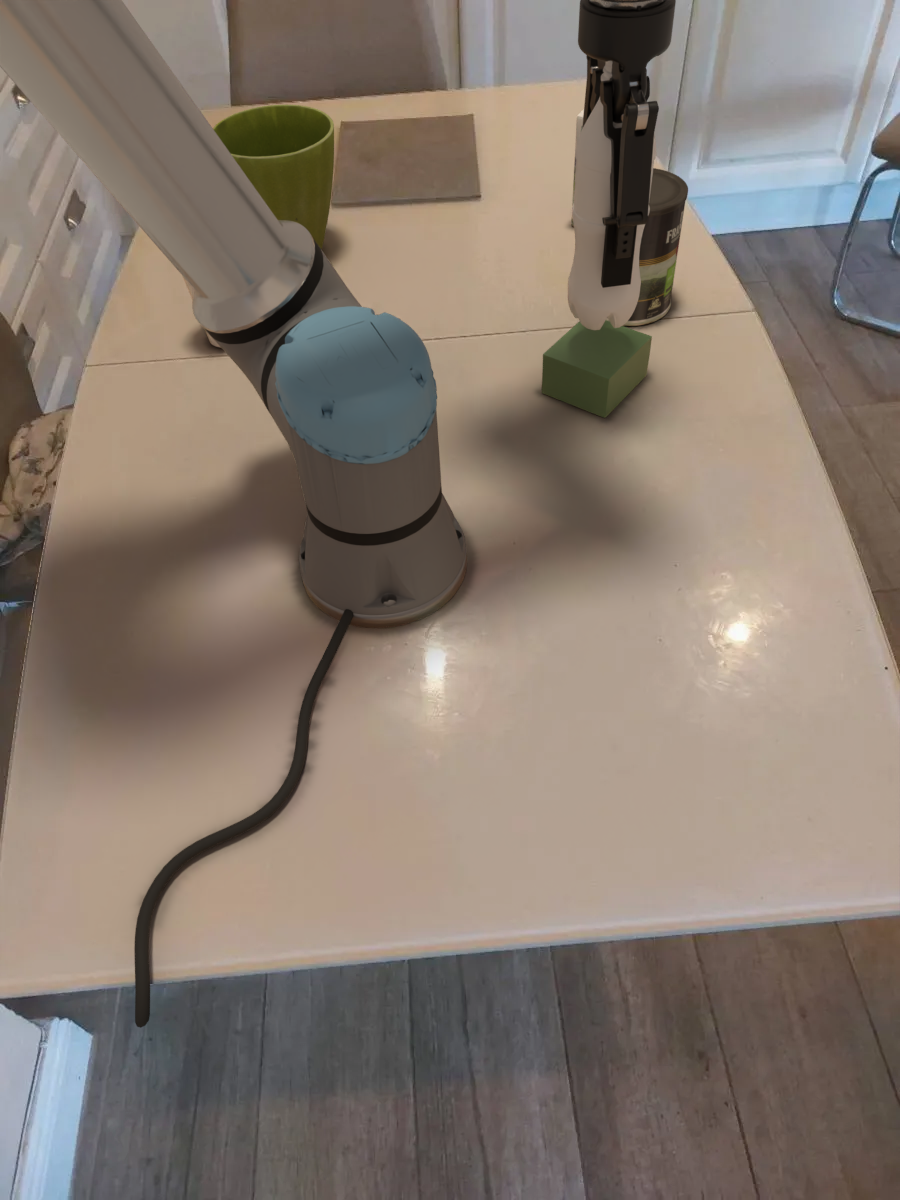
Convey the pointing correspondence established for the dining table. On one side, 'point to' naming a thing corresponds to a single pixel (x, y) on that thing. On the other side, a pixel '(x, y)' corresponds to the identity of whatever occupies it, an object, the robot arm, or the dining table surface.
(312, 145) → the flower pot
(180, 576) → the dining table surface
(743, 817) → the dining table surface
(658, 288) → the coffee can
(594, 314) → the water bottle
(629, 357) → the green block
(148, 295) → the dining table surface
